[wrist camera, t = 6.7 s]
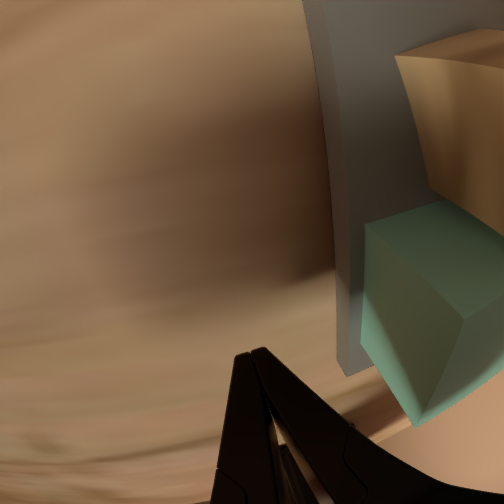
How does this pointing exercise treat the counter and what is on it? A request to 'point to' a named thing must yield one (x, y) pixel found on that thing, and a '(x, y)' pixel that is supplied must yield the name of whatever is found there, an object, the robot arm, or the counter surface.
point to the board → (374, 125)
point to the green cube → (433, 305)
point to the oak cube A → (461, 118)
